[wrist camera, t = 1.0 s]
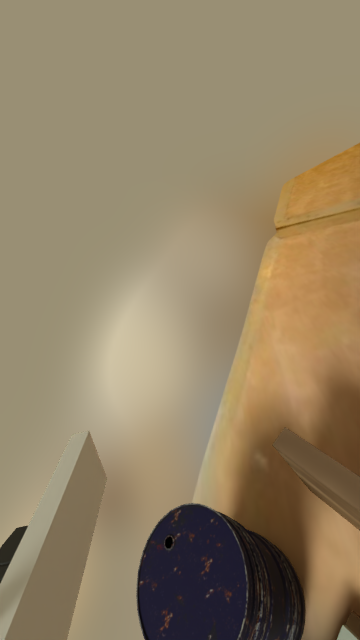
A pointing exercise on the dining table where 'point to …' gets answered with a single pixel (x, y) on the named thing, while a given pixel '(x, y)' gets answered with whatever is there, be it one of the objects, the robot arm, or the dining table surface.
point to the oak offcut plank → (354, 623)
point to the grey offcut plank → (347, 634)
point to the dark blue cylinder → (215, 582)
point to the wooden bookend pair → (322, 475)
